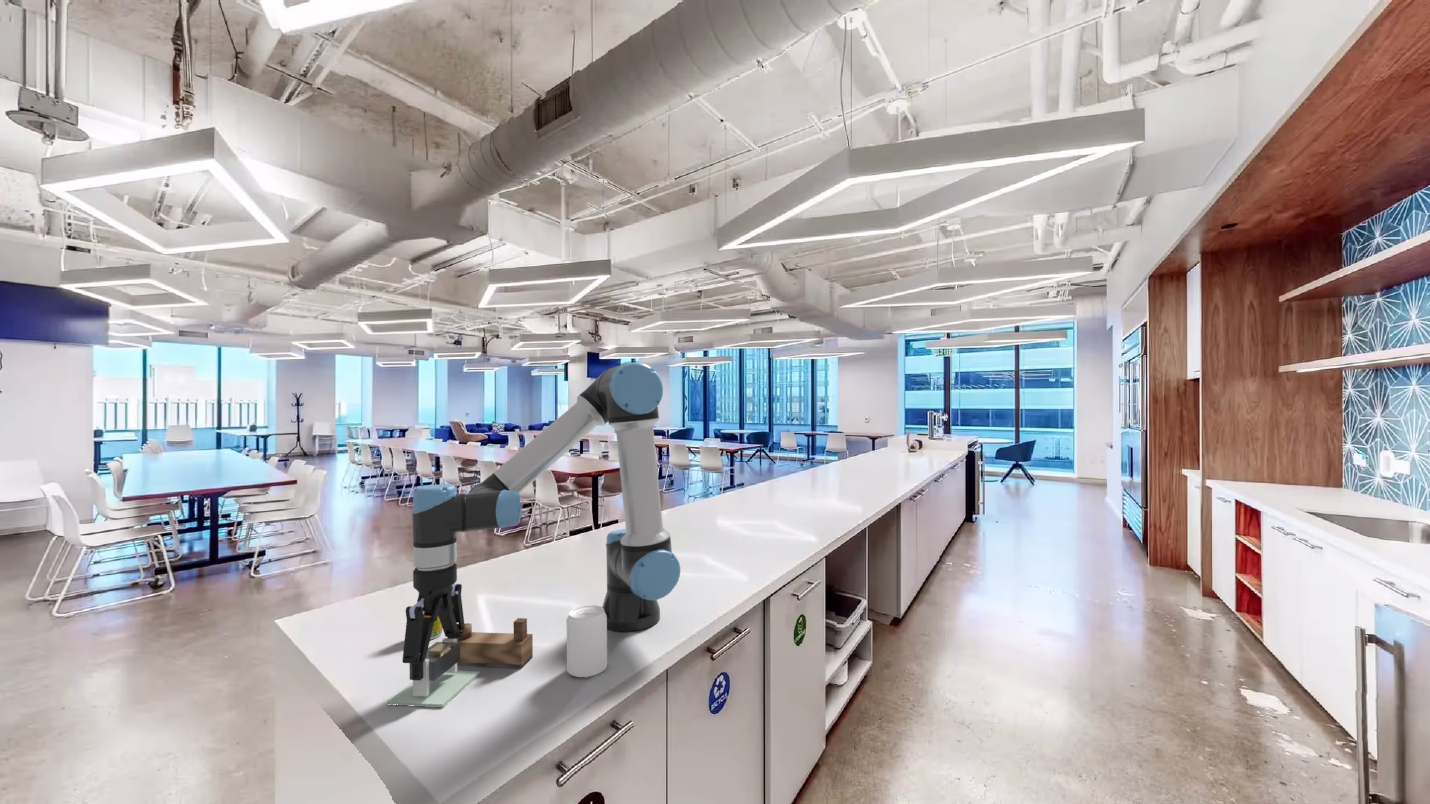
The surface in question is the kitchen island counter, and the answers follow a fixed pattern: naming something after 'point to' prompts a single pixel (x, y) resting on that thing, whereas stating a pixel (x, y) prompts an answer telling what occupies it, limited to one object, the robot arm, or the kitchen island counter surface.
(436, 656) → the dark grey rectangular block
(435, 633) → the supplement bottle
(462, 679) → the mat
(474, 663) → the hand plane
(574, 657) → the beverage can
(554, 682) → the kitchen island counter surface
